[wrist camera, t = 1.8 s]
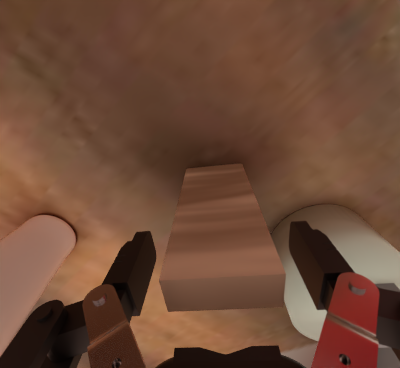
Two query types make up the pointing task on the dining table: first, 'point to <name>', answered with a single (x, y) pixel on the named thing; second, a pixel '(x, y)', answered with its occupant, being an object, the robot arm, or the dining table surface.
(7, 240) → the drinking glass
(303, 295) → the cream plug cylinder
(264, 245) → the brown wooden block
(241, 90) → the dining table surface
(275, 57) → the dining table surface
